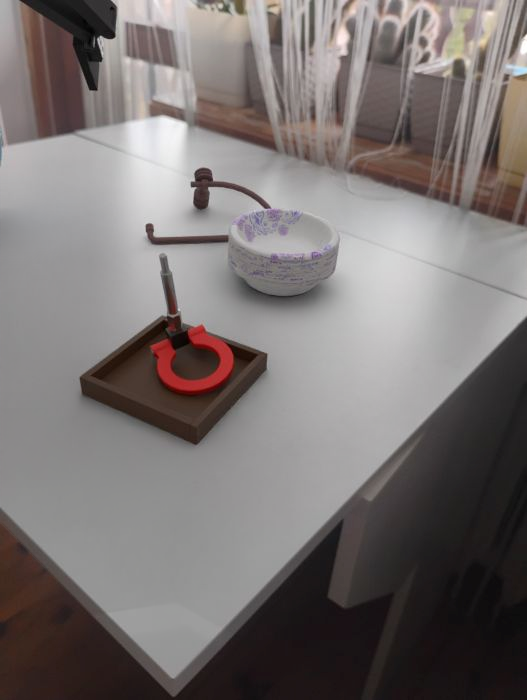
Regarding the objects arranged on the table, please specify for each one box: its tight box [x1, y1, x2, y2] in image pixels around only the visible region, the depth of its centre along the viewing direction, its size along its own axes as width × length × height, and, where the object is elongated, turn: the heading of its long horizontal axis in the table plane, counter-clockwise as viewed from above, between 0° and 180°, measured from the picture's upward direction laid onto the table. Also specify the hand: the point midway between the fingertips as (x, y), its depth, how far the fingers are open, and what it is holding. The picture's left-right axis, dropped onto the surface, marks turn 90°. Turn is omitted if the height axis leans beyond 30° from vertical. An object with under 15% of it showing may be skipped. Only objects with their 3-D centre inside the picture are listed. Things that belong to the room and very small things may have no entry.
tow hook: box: [150, 252, 234, 395], centre depth 65 cm, size 8×13×9 cm
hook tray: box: [79, 314, 268, 445], centre depth 69 cm, size 15×15×2 cm
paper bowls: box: [227, 207, 341, 297], centre depth 87 cm, size 15×15×8 cm
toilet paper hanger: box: [144, 167, 272, 245], centre depth 103 cm, size 22×8×14 cm
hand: (19, 73), depth 57 cm, fingers open, 13 cm apart
